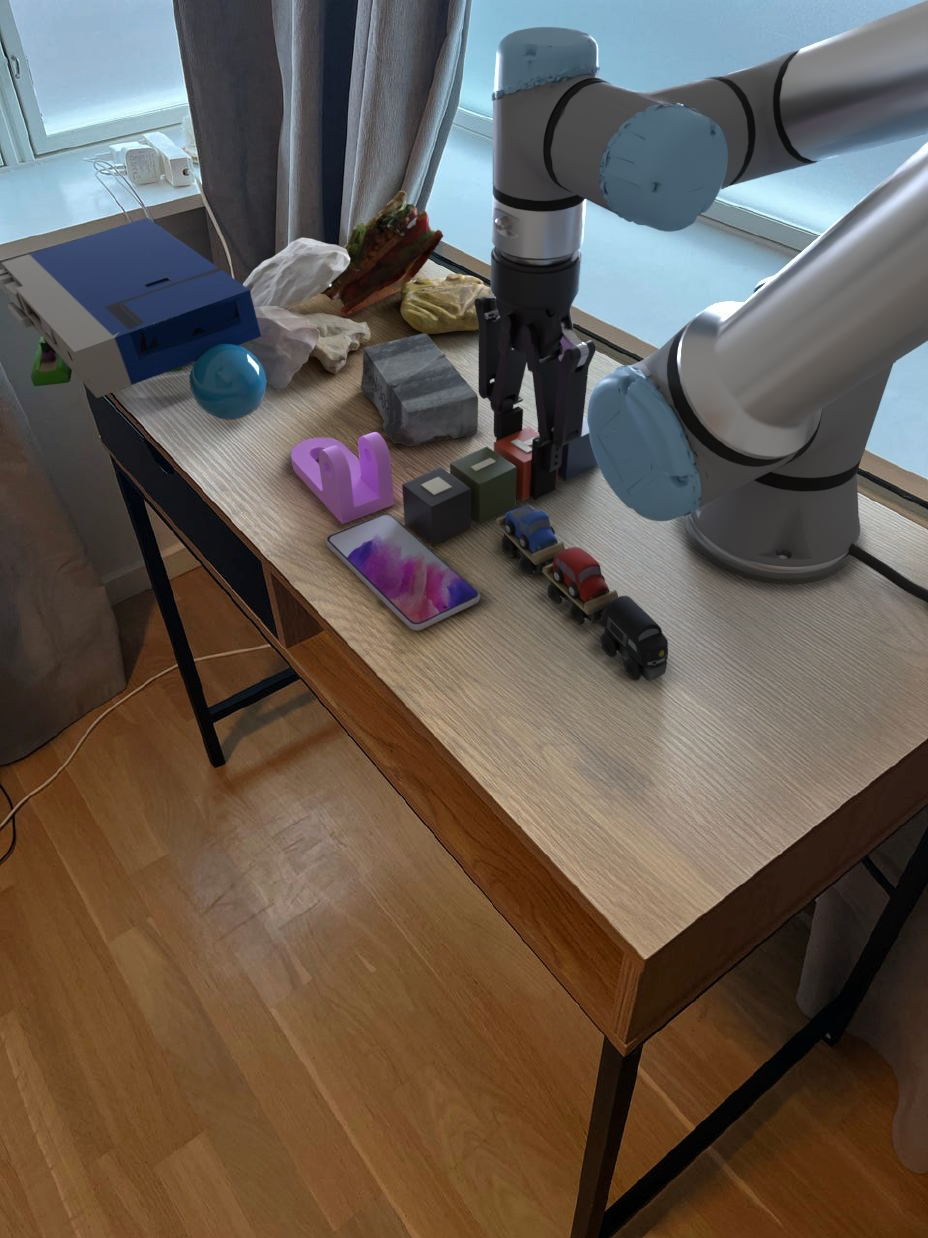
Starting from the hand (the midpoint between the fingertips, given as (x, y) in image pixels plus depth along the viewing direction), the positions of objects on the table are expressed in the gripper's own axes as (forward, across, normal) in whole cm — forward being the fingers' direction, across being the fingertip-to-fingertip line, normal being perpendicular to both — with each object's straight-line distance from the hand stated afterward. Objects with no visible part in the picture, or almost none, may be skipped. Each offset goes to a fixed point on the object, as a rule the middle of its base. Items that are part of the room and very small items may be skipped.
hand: (525, 480), depth 96 cm
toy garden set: (+1, -53, -17) cm, 55 cm away
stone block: (+1, -18, -1) cm, 18 cm away
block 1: (0, 0, -11) cm, 11 cm away
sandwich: (-3, -40, +14) cm, 42 cm away
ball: (-2, -32, -20) cm, 37 cm away
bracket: (0, -12, -14) cm, 19 cm away
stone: (0, -36, 0) cm, 36 cm away
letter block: (0, 0, 0) cm, 0 cm away
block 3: (0, 0, +6) cm, 6 cm away
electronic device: (-9, -31, -21) cm, 39 cm away
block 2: (0, 0, -6) cm, 6 cm away
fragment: (-3, -45, +2) cm, 45 cm away
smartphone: (0, +4, -18) cm, 18 cm away
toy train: (0, +16, -8) cm, 18 cm away
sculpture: (-2, -27, +14) cm, 31 cm away
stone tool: (-3, -30, -6) cm, 31 cm away
